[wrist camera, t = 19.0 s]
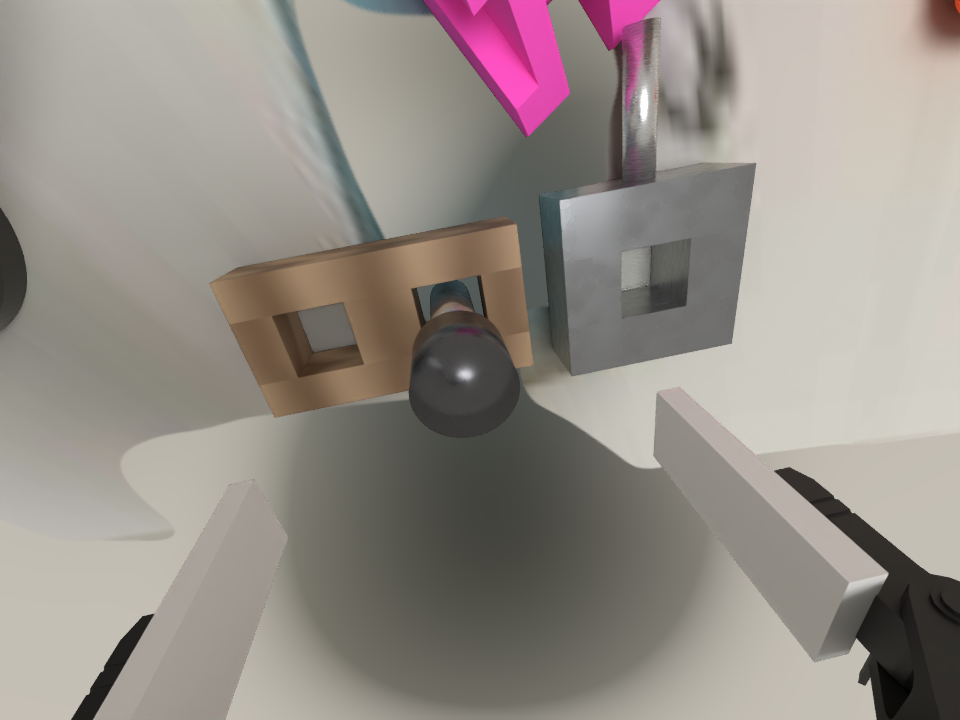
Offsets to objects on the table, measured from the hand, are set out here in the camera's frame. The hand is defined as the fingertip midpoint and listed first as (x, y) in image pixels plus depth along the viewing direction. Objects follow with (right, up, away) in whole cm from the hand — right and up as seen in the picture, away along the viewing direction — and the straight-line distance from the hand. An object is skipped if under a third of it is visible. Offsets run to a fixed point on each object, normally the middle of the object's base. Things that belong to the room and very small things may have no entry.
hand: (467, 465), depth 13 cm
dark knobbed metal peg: (-2, +8, +17) cm, 19 cm away
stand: (-6, +7, +17) cm, 20 cm away
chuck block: (+11, +14, +16) cm, 24 cm away
